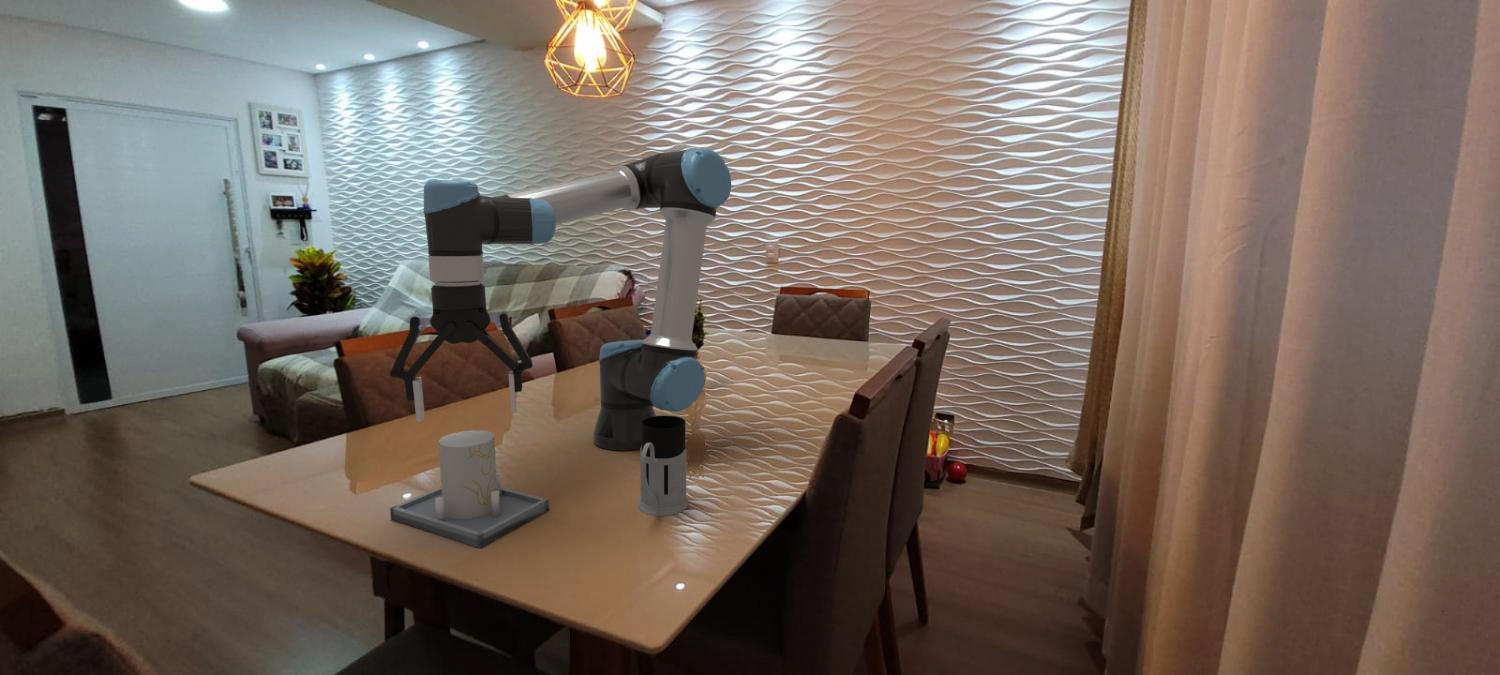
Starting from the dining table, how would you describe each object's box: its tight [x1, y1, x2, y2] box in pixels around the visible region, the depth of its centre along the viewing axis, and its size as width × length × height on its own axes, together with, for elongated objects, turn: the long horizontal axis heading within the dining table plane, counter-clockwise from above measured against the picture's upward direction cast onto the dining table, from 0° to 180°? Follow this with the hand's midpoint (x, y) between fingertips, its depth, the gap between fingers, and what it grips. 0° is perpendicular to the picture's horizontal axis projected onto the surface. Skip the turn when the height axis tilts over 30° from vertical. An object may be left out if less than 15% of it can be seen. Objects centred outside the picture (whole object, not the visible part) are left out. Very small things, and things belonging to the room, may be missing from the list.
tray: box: [389, 471, 550, 549], centre depth 97 cm, size 20×14×5 cm
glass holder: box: [637, 415, 690, 517], centre depth 99 cm, size 9×14×15 cm, turn 170°
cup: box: [438, 429, 497, 519], centre depth 96 cm, size 8×8×12 cm
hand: (468, 415), depth 95 cm, fingers open, 13 cm apart
